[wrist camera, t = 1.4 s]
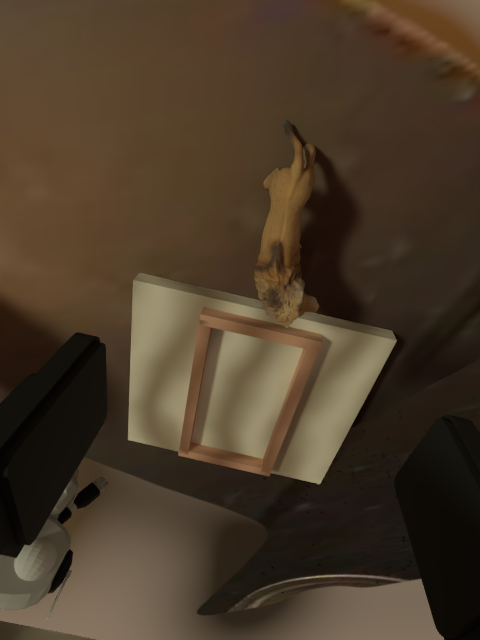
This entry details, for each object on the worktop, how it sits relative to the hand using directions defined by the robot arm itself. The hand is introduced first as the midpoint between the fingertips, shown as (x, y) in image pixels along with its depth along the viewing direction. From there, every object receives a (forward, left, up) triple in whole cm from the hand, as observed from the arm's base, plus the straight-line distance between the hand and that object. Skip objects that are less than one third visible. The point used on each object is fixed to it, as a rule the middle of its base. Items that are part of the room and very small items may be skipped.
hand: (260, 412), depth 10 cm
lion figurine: (0, -1, -19) cm, 19 cm away
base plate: (-1, +16, -19) cm, 25 cm away
